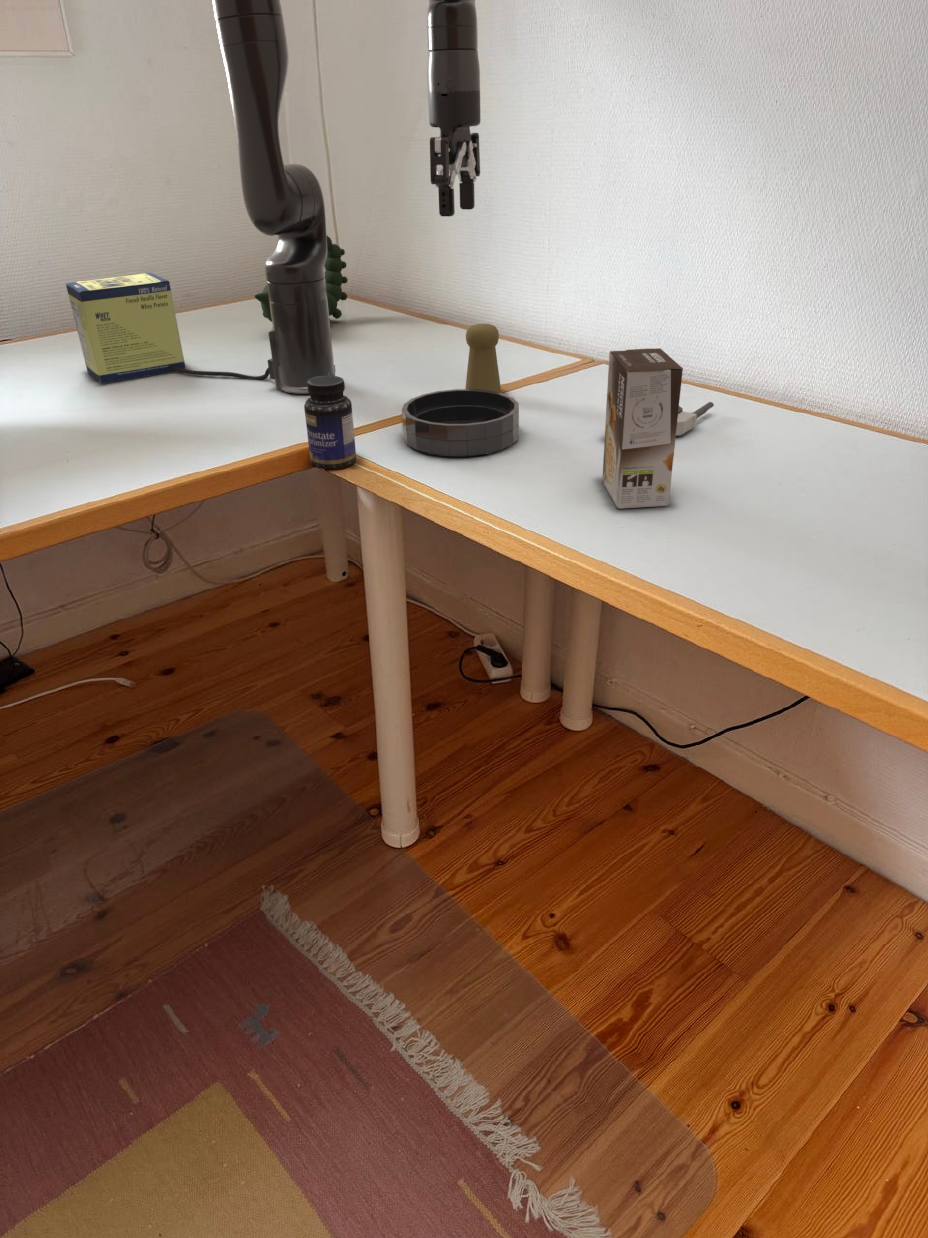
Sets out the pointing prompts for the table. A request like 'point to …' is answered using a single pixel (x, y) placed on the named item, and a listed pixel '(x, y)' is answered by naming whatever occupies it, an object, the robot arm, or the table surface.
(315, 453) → the pill bottle
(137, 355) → the protein box
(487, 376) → the olive brown knobbed cylinder
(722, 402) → the table surface
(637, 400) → the coffee box
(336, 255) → the toy figurine
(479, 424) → the pan
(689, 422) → the walkie-talkie
